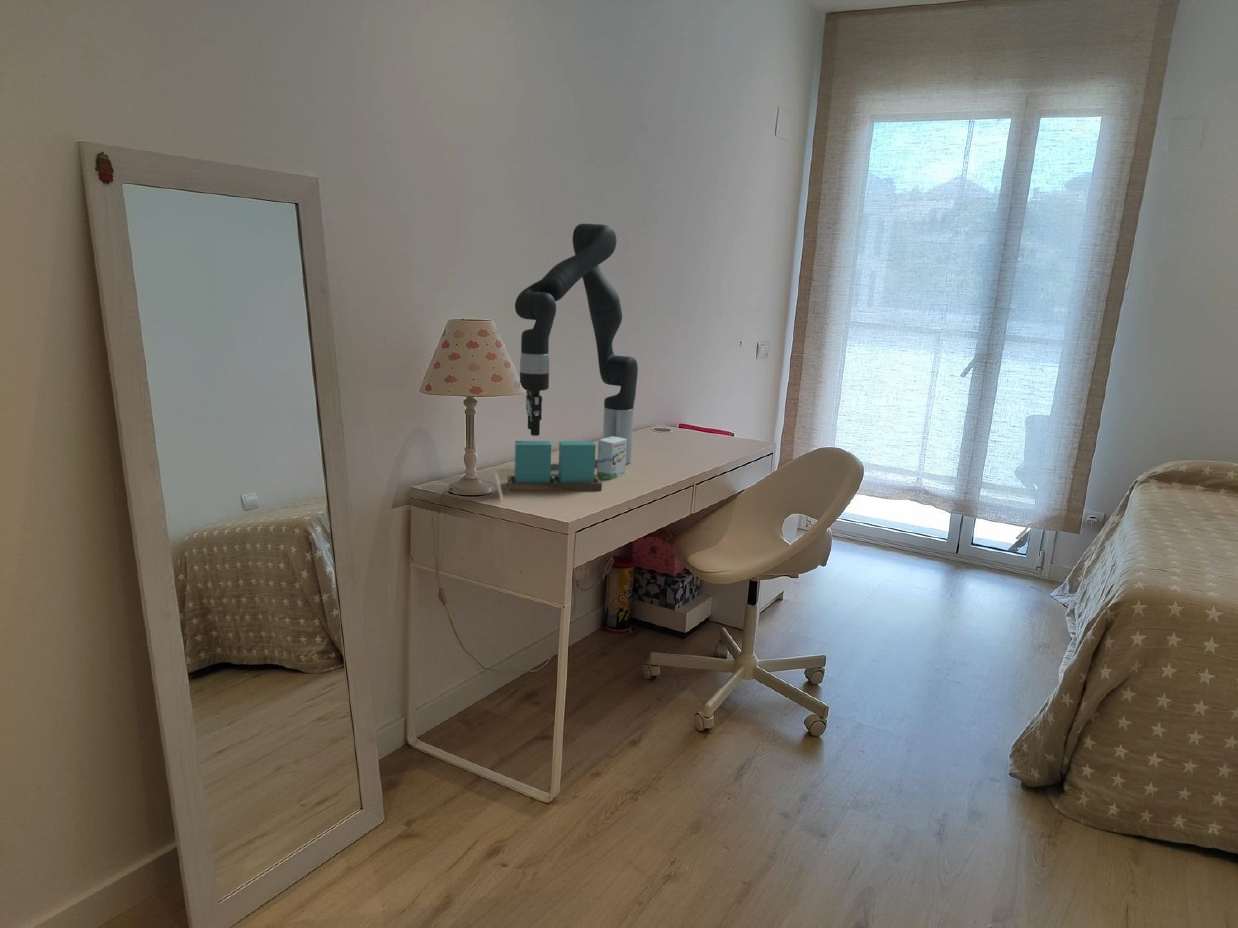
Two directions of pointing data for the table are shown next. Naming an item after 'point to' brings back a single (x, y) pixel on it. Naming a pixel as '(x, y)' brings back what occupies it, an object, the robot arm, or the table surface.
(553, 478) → the brown shallow tray
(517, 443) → the block
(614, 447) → the ink box
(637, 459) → the table surface
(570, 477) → the block
